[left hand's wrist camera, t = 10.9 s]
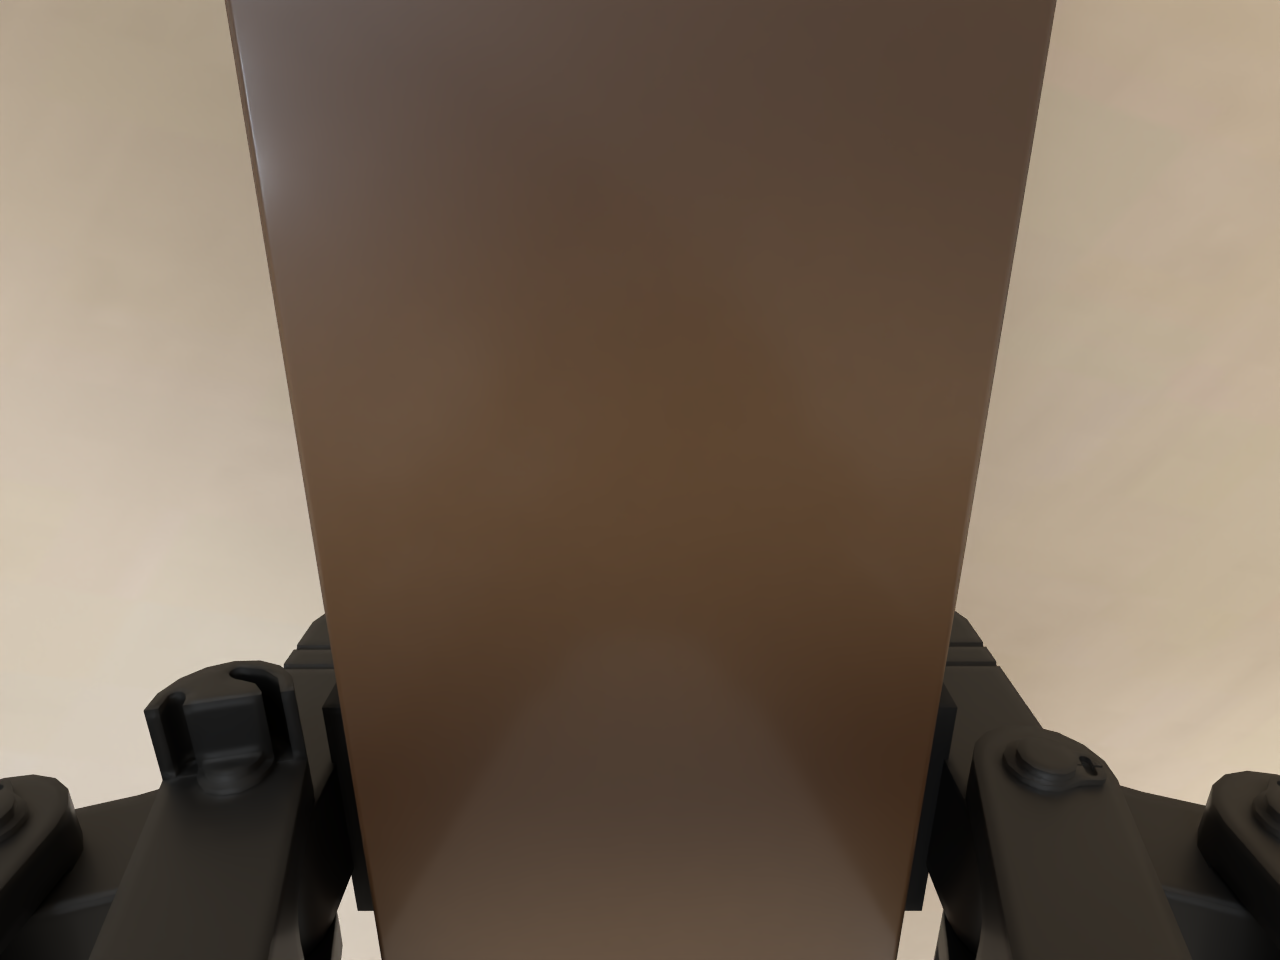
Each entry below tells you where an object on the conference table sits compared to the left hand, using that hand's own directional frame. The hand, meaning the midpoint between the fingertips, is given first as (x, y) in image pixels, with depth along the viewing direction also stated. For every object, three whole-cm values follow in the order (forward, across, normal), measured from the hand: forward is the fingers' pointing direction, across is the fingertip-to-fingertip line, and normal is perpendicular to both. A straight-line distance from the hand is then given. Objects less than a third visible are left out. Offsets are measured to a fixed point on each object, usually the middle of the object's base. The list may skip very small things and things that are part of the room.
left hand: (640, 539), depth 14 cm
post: (+1, 0, -34) cm, 35 cm away
